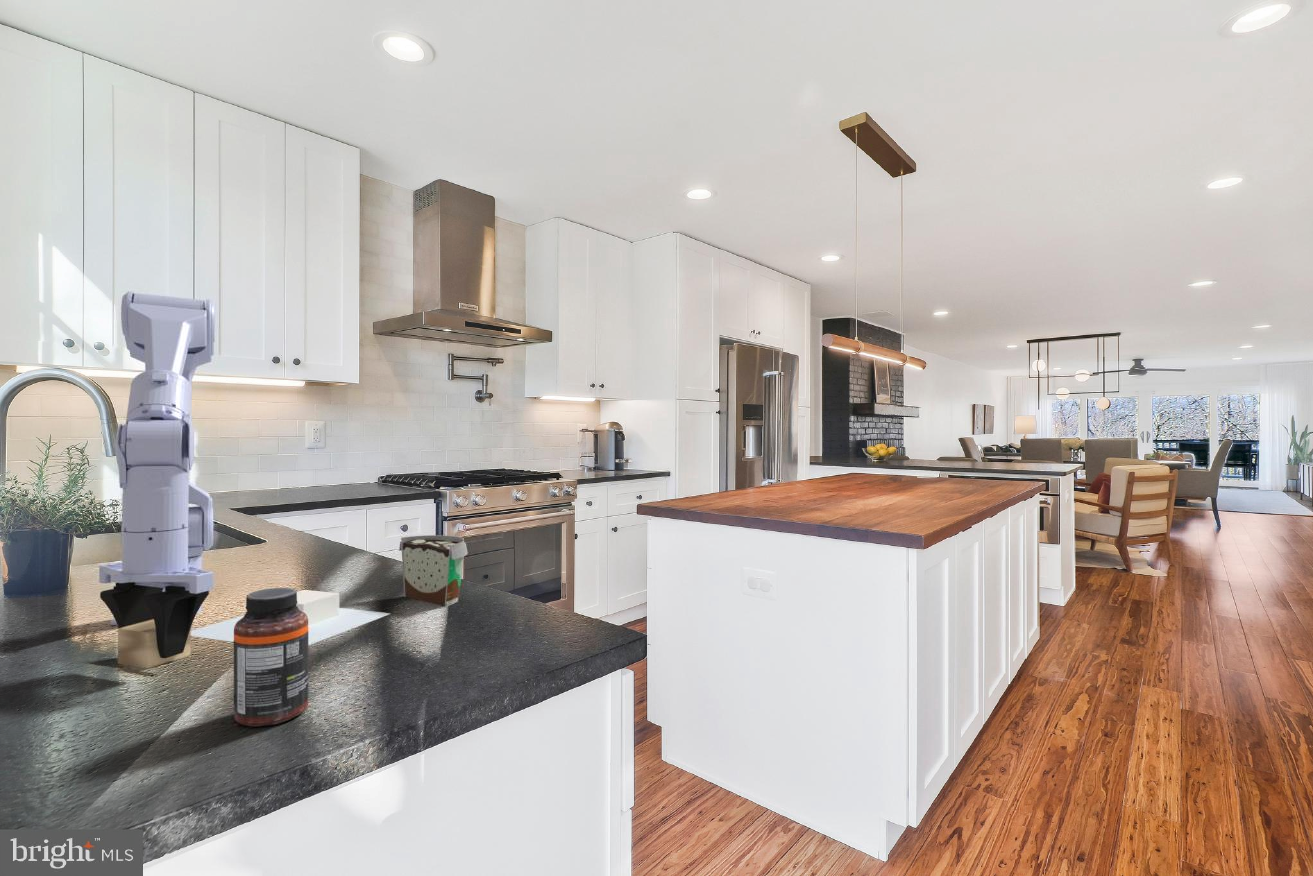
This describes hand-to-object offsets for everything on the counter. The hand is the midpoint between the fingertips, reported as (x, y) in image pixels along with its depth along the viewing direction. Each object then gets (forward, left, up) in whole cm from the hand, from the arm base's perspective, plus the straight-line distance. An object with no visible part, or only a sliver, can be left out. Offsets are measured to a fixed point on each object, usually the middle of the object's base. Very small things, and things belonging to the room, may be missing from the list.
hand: (155, 652), depth 70 cm
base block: (+3, +17, -1) cm, 17 cm away
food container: (+13, +33, -2) cm, 36 cm away
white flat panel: (+3, +15, -2) cm, 15 cm away
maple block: (0, 0, -1) cm, 1 cm away
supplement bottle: (+22, -5, -2) cm, 23 cm away
